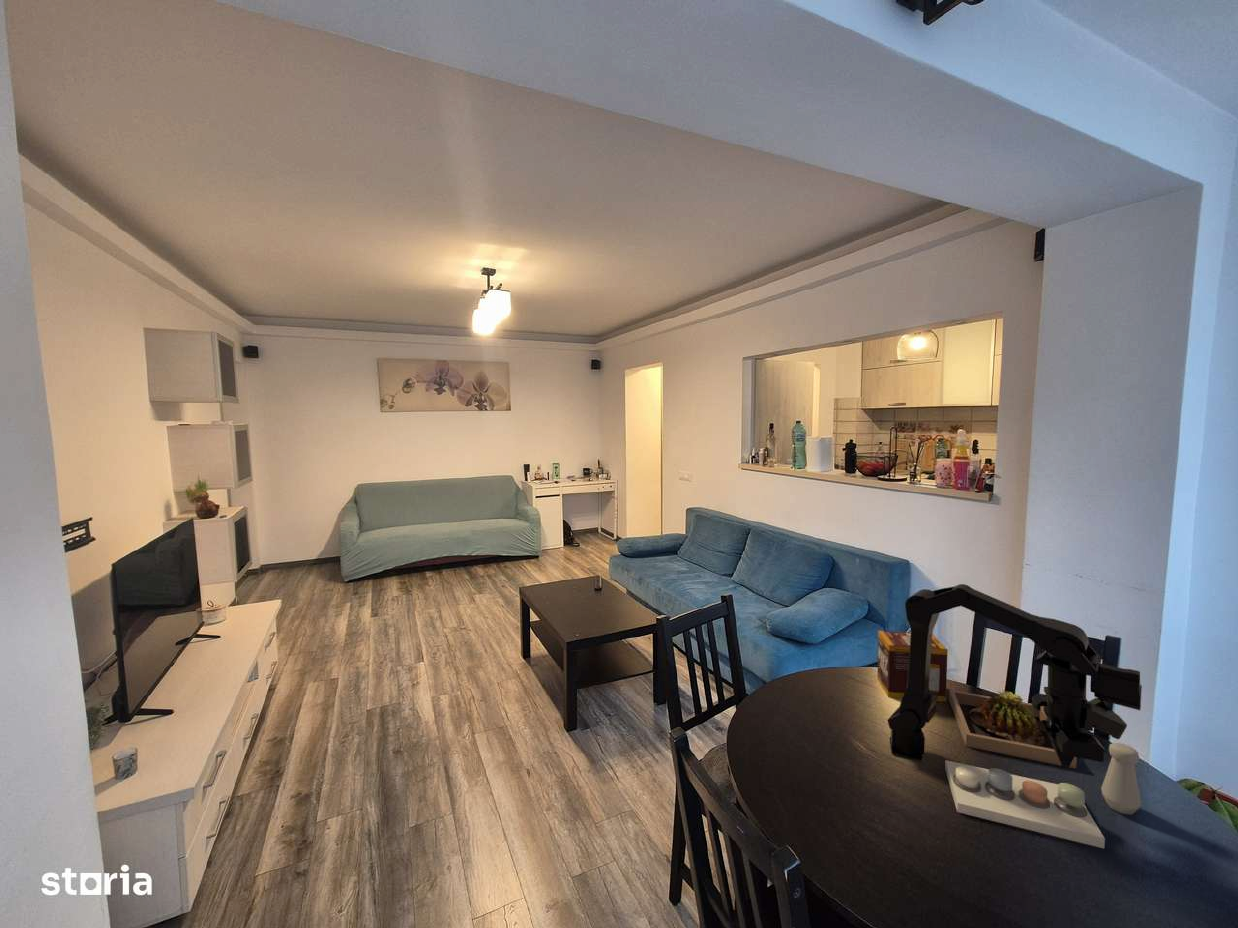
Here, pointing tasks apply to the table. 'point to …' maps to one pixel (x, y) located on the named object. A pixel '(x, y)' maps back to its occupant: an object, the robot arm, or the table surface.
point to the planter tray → (995, 743)
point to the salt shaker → (1122, 780)
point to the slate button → (1000, 779)
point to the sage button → (1071, 795)
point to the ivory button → (966, 777)
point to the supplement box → (897, 662)
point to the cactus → (1010, 720)
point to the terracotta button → (1034, 792)
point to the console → (1023, 807)
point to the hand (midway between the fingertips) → (1064, 765)
